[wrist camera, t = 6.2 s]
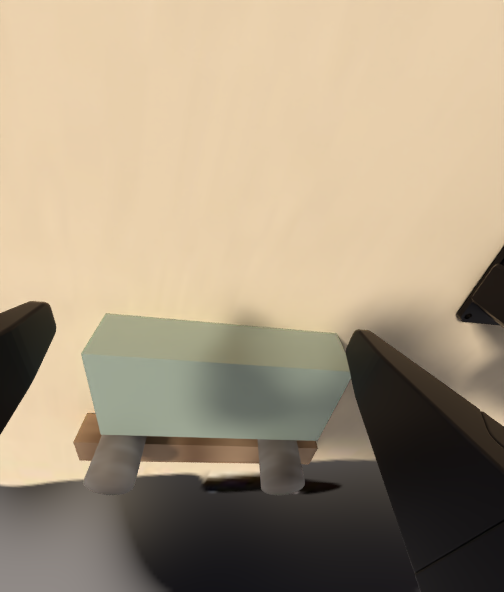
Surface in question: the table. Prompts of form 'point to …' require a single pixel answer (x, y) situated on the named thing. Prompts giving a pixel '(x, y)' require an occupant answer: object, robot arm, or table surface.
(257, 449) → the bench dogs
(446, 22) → the table surface
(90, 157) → the table surface
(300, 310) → the table surface
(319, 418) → the painted plate block
